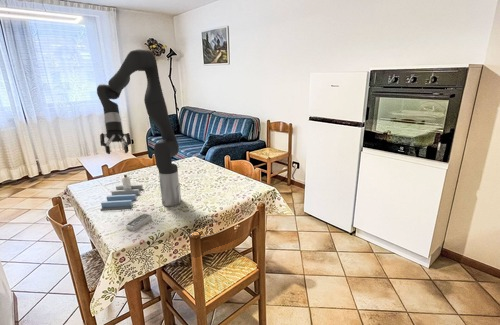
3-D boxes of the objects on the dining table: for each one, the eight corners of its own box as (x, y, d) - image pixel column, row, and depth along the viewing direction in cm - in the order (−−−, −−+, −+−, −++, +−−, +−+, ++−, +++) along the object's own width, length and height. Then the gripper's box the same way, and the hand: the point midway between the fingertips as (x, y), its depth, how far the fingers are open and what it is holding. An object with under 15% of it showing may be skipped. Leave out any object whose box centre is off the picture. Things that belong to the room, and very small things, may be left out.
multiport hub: (126, 229, 116) (125, 224, 115) (144, 217, 125) (143, 213, 125) (134, 231, 114) (133, 226, 113) (151, 219, 124) (151, 215, 123)
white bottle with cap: (132, 190, 153) (130, 173, 150) (130, 193, 149) (128, 176, 146) (125, 190, 152) (122, 173, 149) (123, 193, 149) (120, 176, 145)
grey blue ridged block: (143, 188, 157) (142, 183, 156) (130, 209, 133) (129, 202, 132) (118, 190, 156) (117, 184, 155) (100, 210, 131) (99, 204, 130)
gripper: (100, 120, 131) (105, 152, 130) (129, 121, 141) (134, 151, 140) (95, 124, 136) (100, 155, 135) (124, 124, 146) (129, 153, 145)
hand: (117, 153), depth 138 cm, fingers open, 8 cm apart
